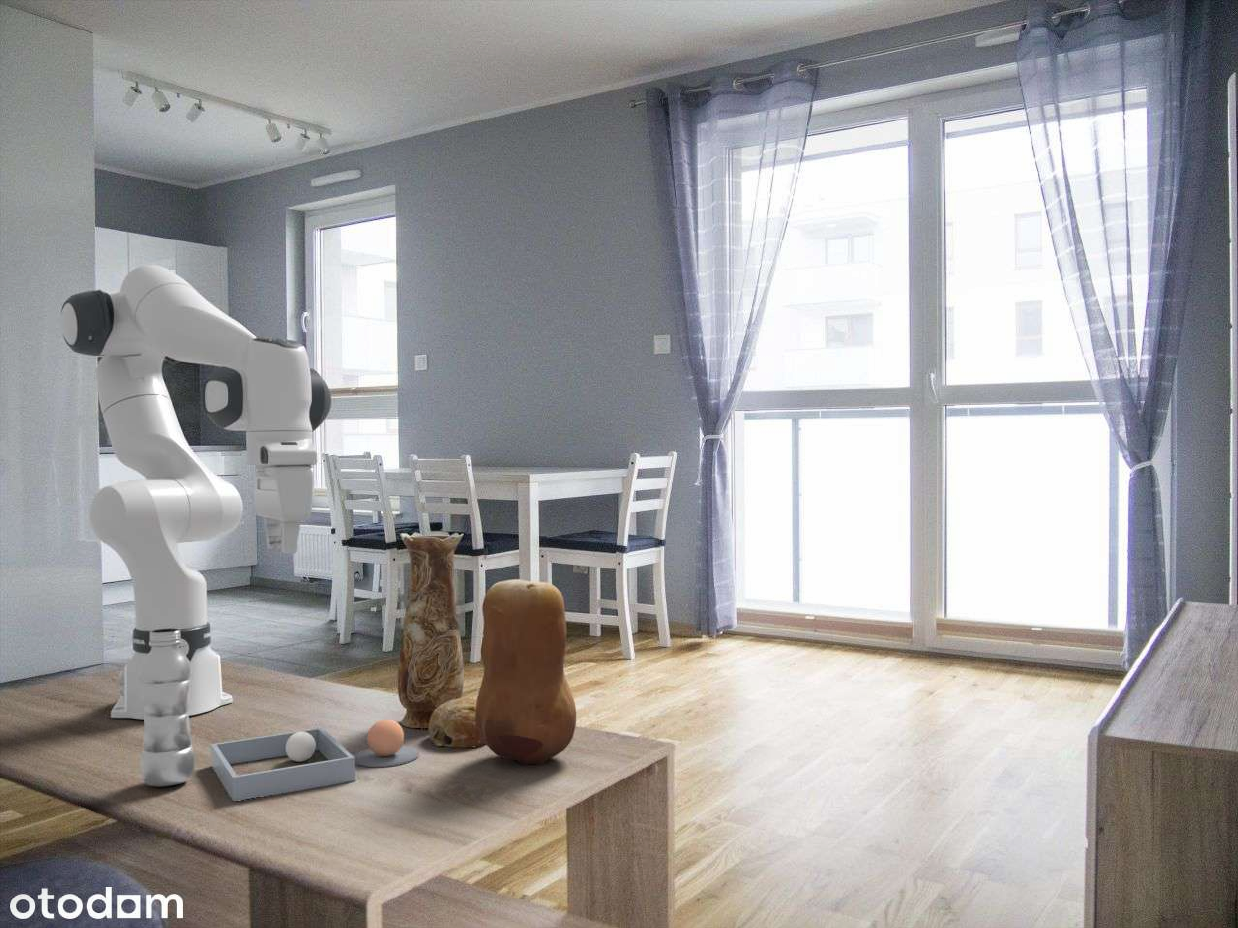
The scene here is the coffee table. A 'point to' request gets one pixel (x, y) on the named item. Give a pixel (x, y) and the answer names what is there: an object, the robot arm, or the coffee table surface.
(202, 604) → the robot arm
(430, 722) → the bread roll
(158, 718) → the plastic bottle
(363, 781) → the coffee table surface
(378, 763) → the pad
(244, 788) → the grey square frame
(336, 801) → the coffee table surface
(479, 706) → the butternut squash
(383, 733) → the terracotta ball
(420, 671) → the vase
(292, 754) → the cream ball
